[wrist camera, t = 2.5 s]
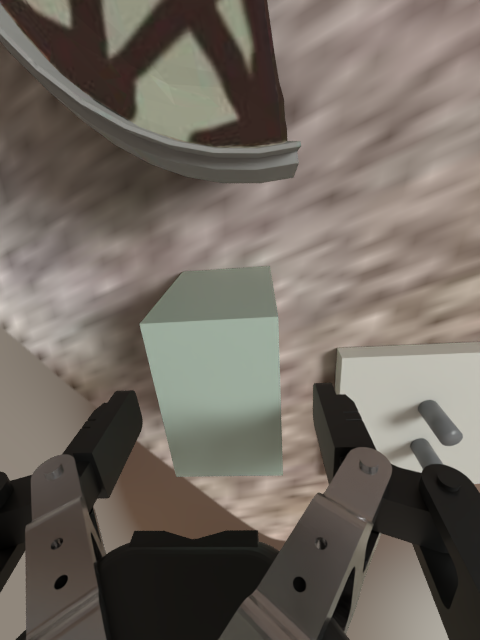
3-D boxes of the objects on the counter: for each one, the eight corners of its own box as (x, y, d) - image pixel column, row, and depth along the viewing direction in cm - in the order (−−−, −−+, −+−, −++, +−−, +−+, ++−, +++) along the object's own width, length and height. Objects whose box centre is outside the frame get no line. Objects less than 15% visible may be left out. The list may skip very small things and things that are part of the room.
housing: (182, 271, 17) (139, 323, 11) (269, 266, 17) (278, 316, 10) (201, 385, 21) (176, 476, 14) (274, 382, 20) (282, 475, 14)
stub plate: (337, 347, 19) (354, 384, 15) (525, 339, 18) (587, 376, 15) (329, 470, 23) (342, 519, 20) (479, 469, 22) (518, 519, 19)
